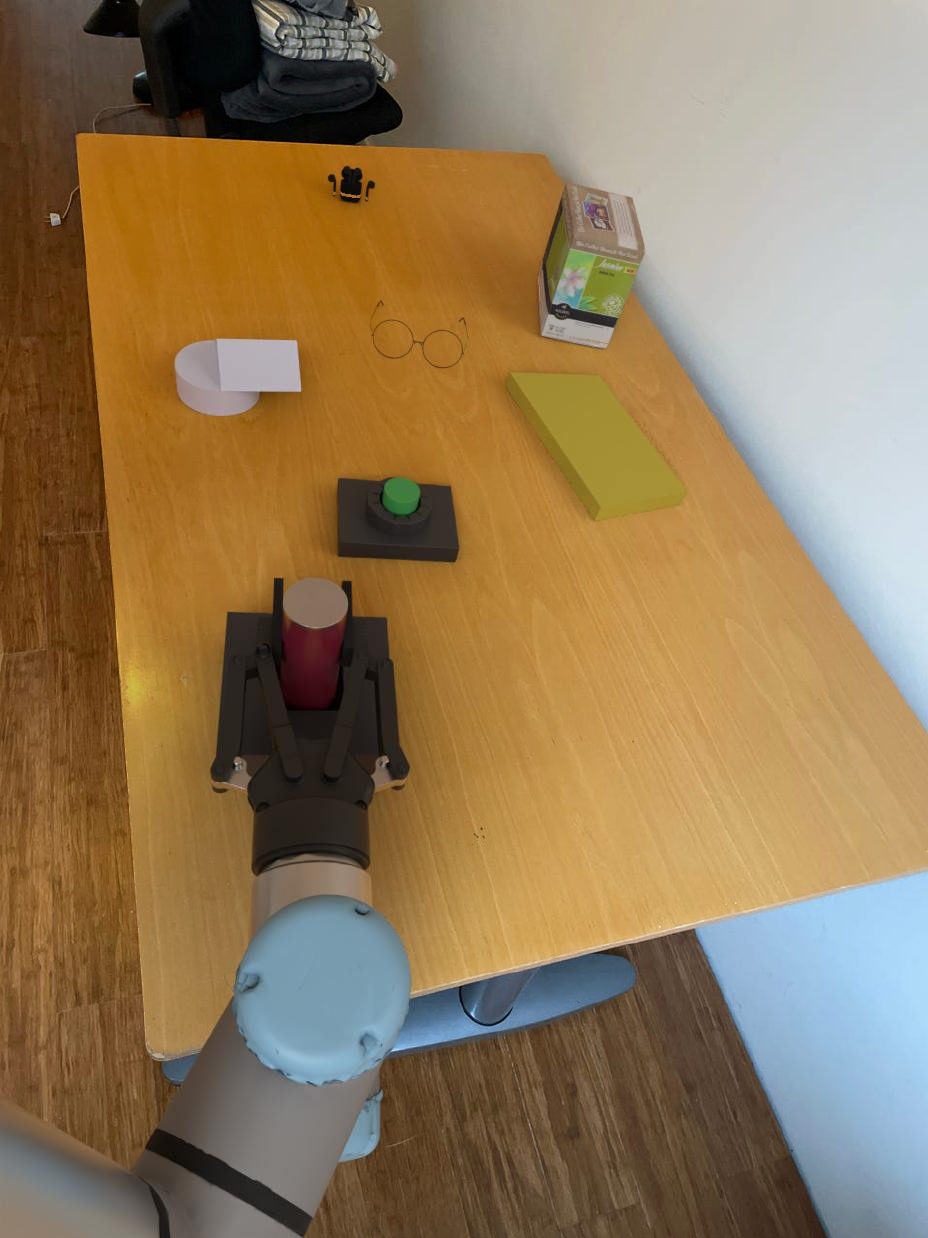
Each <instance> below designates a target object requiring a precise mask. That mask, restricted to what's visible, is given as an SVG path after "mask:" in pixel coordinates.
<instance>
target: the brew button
mask: <svg viewBox="0 0 928 1238" xmlns="http://www.w3.org/2000/svg"><path fill="white" fill-rule="evenodd" d="M413 481H414V480H412V479H409V478H407V477H401V476H399V477H395V478H392V479H390V480H388V481H387V482H386V484H385V486H384V492H383V497H382V503H383V505H384V507H385V508H386V509H387V510H388V511H390V512H392V513H394V514H397V515H407V514H410V513H412V512H414V511H415V510H416V508H417V506H418V501H419V496H420V489H419V487H418V485H417V484H416V483H417V482H416V481H414V482H413ZM415 482H416V483H415Z"/></svg>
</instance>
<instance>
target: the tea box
mask: <svg viewBox="0 0 928 1238" xmlns="http://www.w3.org/2000/svg"><path fill="white" fill-rule="evenodd" d="M558 203H559V204H558V208H557V211H556V214H555V217H554V221H553V224H552V227H551V230H550V234H549V237H548V241H547V244H546V247H545V251H544V254H543V256H542V257H543V258H542V260H541V263H540V266H539V270H538V274H539V285H538V276H537V277H536V286H537V299H538V314H539V316H538V317H539V328H540V336H542V337H545V338H550V339H553V340H558V341H564V342H568V343H573V344H578V345H584V346H589V347H593V348H598V349H599V348H600V349H606V348H607V347H608V346H609V344H610V341H611V339H612V337H613V334H614V331H615V328H616V326H617V323H618V321H619V319H620V316H621V313H622V311H623V309H624V306H625V303H626V301H627V298H628V297H629V294H630V291H631V289H632V287H633V283H634V281H635V278H636V276H637V274H638V272H639V269H640V267H641V264H642V262H643V259H644V256H645V253H646V246H645V245H646V244H645V241H644V237H643V233H642V229H641V226H640V222H639V218H638V214H637V210H636V207H635V204H634V203H635V202H634V198H633V197H631V196H628V195H623V194H619V193H615V192H612V191H611V192H610V191H607V190H603V189H597V188H593V187H588V186H584V185H581V184H576V183H571V182H565V185H564V187H563V191H562V194H561V197H560V200H559V202H558ZM539 286H540V302H539ZM540 310H541V317H540ZM541 327H542V329H541ZM546 332H547V333H546ZM557 334H558V335H557ZM579 338H580V339H579ZM583 339H585V340H583ZM586 339H589V340H591V341H589V340H586ZM592 340H594V341H598V342H594V341H592ZM599 341H600V342H604V343H608V344H604V343H599Z"/></svg>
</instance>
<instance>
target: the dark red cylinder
mask: <svg viewBox="0 0 928 1238" xmlns="http://www.w3.org/2000/svg"><path fill="white" fill-rule="evenodd" d="M347 610H348V599H347V596H346V594H345V592H344V591H343V590H342V589H341V586H340V585H338V584H337V583H335V582H334V581H332V580H330V579H326V578H323V577H306V578H305V577H304V578H302V579H299V580H297V581H295V582H293V583H292V584H290V586H289V587H288V588H287V589H286V591H285V592H284V593H283V615H282V656H281V671H280V681H279V684H280V687H281V691H282V695H283V699H284V703H285V707H286V710H299V711H329V709H330V708H331V707H332V705H333V704H334V703H335V700H336V696H337V690H338V675H339V668H340V661H341V653H342V646H343V639H344V632H345V624H346V617H347Z"/></svg>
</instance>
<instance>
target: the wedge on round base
mask: <svg viewBox="0 0 928 1238" xmlns="http://www.w3.org/2000/svg"><path fill="white" fill-rule="evenodd" d="M298 347H299V346H298V340H297V339H296V340H295V339H256V338H255V339H249V338H215V339H211V340H202V341H201V340H200V341H197V342H193V343H190V344H188V345H186V346H185V347H183V348H181V350H180V351H178V353H177V354H176V356H175V358H174V373H175V374H174V375H175V384H176V392H177V396H178V398H179V399H180V400H181V402H182V403H183V404H184V405H186V407H188V408H189V409H191V410H193V411H196V412H197V413H200V414H203V415H208V416H213V417H229V416H235V415H239V414H242V413H245V412H247V411H249V410H250V409H252V408H253V407H254V406H255V405H256V404H257V403H258V401H259V398H260V396H261V392H287V393H288V392H289V393H290V392H293V393H294V392H298V393H301V392H302V384H301V371H300V360H299V348H298Z"/></svg>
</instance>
